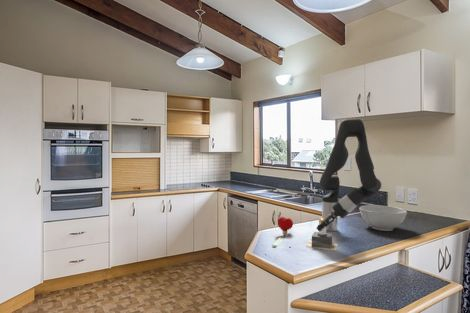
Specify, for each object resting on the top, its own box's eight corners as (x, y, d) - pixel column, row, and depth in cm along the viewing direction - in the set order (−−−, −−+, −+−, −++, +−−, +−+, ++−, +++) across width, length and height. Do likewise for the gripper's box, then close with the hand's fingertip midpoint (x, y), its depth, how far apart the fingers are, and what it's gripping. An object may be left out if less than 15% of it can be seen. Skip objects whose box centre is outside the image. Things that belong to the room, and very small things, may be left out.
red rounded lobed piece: (295, 235, 176) (295, 218, 175) (288, 238, 170) (289, 220, 170) (281, 232, 182) (281, 215, 181) (274, 234, 177) (274, 217, 176)
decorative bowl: (351, 228, 194) (352, 208, 194) (368, 221, 213) (369, 203, 213) (398, 237, 175) (398, 215, 175) (412, 228, 194) (412, 209, 194)
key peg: (319, 243, 157) (319, 217, 157) (326, 244, 156) (326, 218, 155) (318, 245, 154) (318, 219, 153) (325, 246, 152) (325, 219, 152)
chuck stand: (309, 242, 164) (310, 229, 164) (337, 245, 159) (338, 233, 158) (305, 250, 151) (305, 236, 151) (335, 254, 146) (336, 240, 145)
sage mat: (279, 239, 168) (279, 237, 168) (301, 242, 164) (301, 240, 164) (272, 246, 155) (272, 244, 155) (296, 250, 151) (296, 248, 151)
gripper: (339, 198, 158) (314, 219, 163) (337, 202, 145) (310, 226, 150) (350, 209, 156) (325, 230, 161) (349, 215, 143) (321, 238, 148)
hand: (318, 228), depth 155 cm, fingers closed on key peg, 3 cm apart
